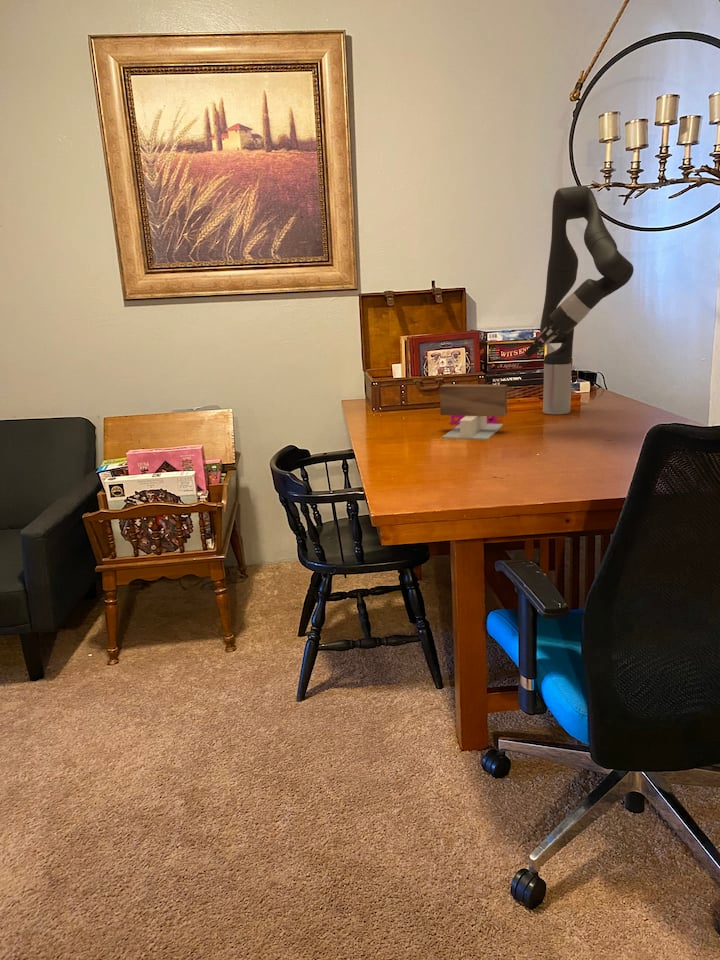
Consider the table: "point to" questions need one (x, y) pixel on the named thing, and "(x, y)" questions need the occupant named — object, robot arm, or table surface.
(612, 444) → the table surface
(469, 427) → the fulcrum
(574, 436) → the table surface
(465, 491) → the table surface
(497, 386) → the beam
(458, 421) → the magenta curved piece
